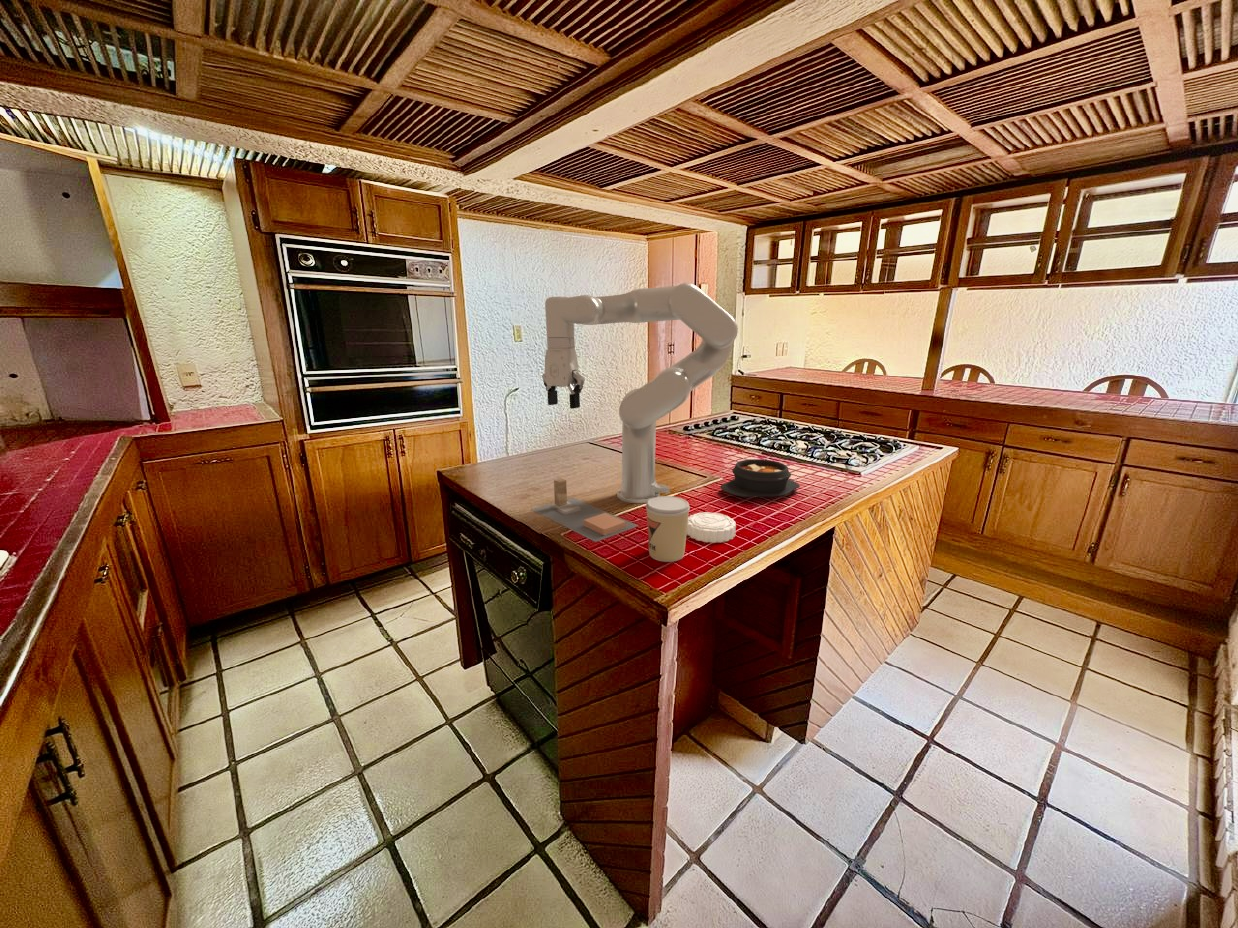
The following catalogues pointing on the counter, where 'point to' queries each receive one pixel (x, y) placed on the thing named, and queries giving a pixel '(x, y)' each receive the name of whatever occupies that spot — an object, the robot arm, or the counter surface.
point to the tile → (604, 524)
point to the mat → (580, 519)
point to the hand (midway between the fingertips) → (563, 406)
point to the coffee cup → (667, 527)
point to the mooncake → (711, 527)
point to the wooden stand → (562, 498)
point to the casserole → (760, 479)
